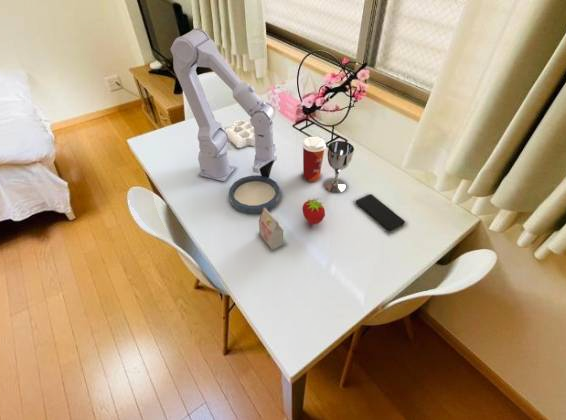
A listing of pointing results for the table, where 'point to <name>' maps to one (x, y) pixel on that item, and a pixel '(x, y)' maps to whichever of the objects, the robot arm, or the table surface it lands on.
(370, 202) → the smartphone
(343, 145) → the silver metal goblet
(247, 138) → the white tube cluster
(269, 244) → the milk carton
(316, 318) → the table surface
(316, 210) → the strawberry
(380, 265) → the table surface
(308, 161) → the paper cup
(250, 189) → the plate
